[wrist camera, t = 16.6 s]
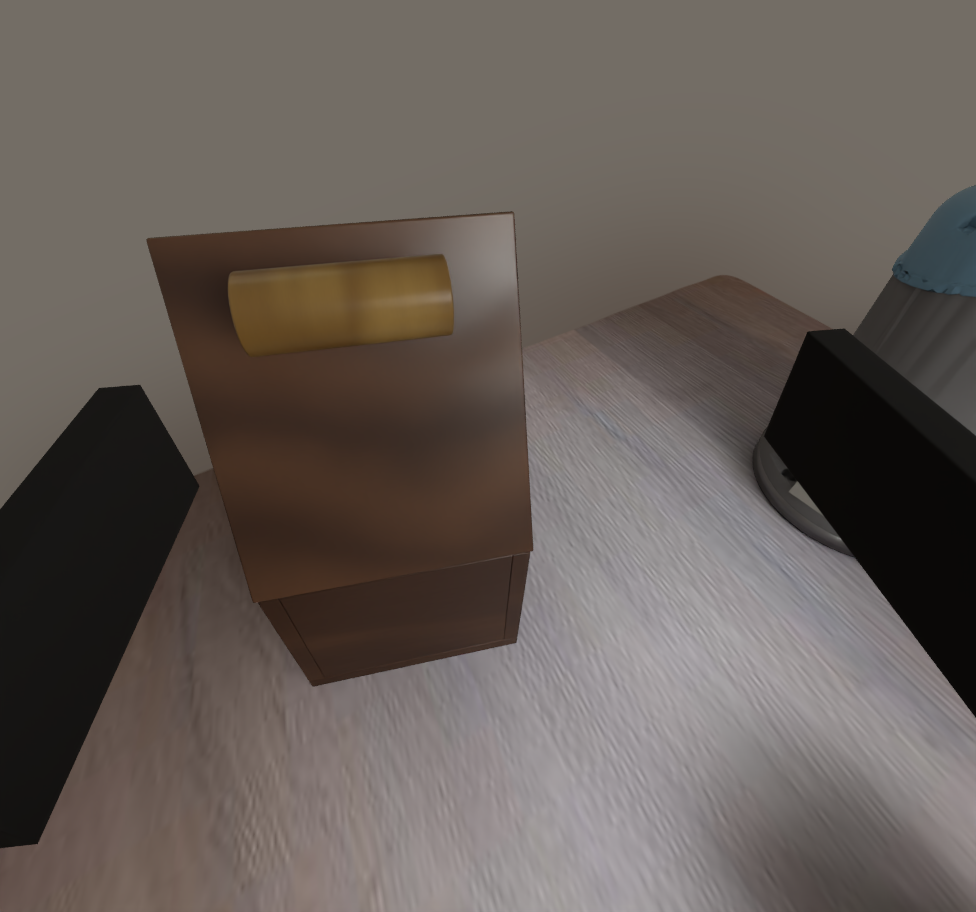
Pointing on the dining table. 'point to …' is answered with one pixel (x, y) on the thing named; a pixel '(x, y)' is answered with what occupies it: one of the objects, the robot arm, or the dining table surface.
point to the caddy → (402, 618)
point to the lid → (357, 393)
